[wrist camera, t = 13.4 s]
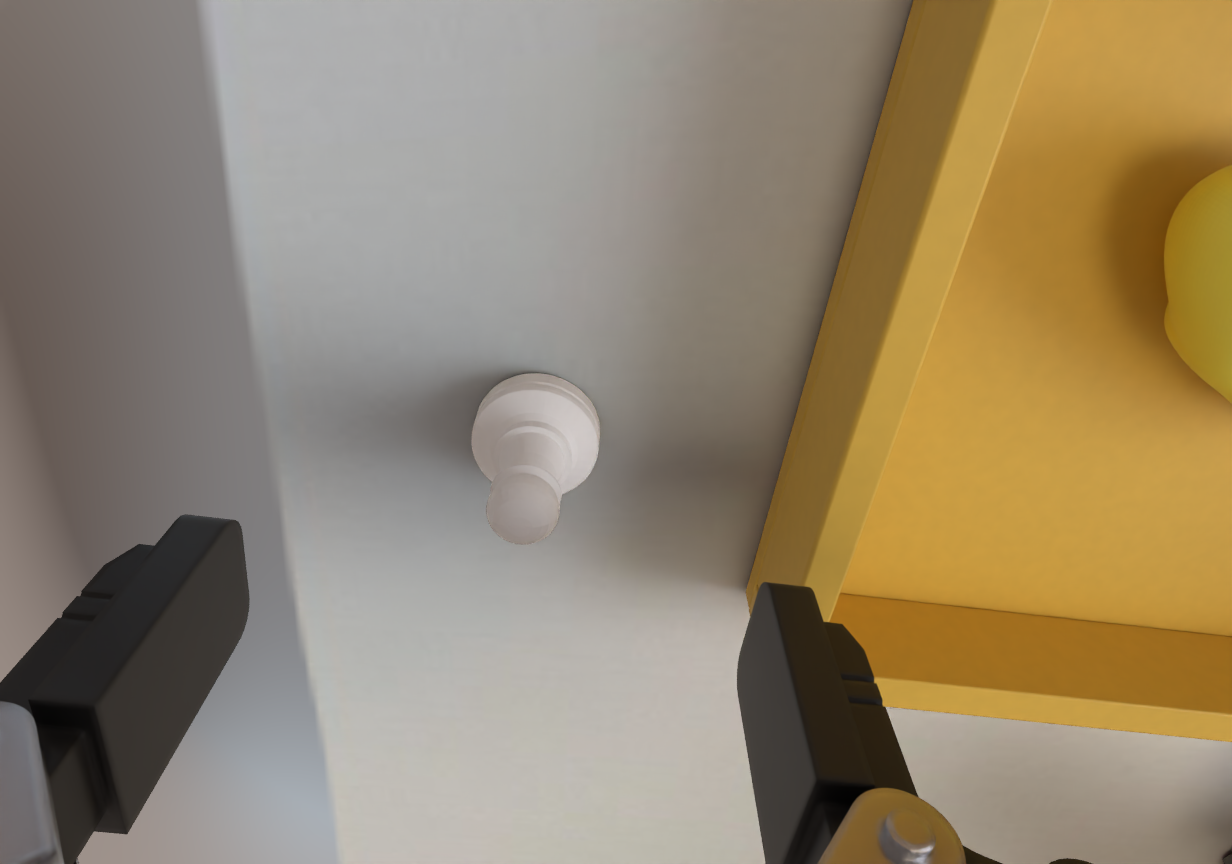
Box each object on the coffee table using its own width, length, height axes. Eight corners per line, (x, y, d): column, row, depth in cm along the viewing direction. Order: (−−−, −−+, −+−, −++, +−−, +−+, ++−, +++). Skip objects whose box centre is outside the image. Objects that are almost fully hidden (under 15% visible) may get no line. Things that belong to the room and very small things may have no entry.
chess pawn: (598, 481, 17) (593, 589, 14) (479, 476, 17) (448, 583, 14) (602, 373, 16) (597, 467, 13) (473, 368, 16) (439, 461, 13)
